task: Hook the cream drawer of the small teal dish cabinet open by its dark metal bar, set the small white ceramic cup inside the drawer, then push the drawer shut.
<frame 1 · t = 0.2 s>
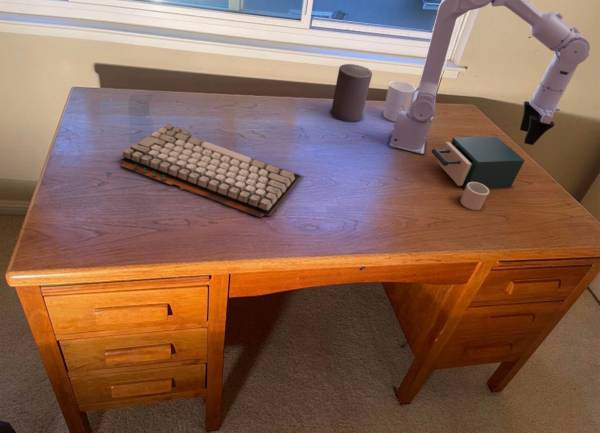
hand: (526, 136, 112), 10 cm above the table, tool pointing down, fingers open, 7 cm apart
white cup: (393, 117, 135), on the table
cabinet: (475, 175, 113), on the table
mechanical keyboard: (210, 171, 99), on the table
pillar candle: (346, 114, 132), on the table
cup: (470, 203, 103), on the table
drawer: (464, 162, 109), point 4 cm above the table, slide at 1.0 cm
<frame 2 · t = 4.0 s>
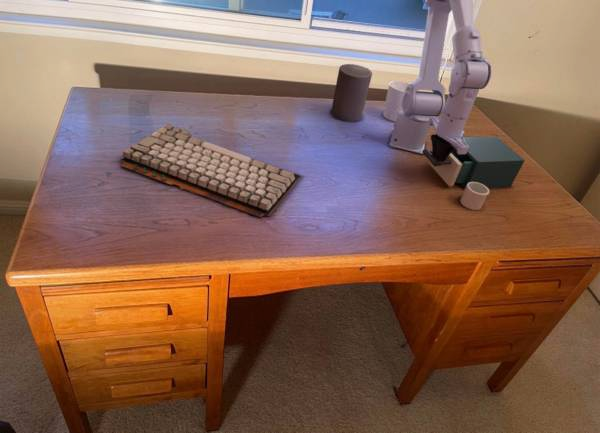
hand: (436, 164, 107), 4 cm above the table, tool pointing down, fingers closed, pressing on drawer
drawer: (455, 163, 109), point 4 cm above the table, slide at 3.6 cm, touching gripper
everything else where it was.
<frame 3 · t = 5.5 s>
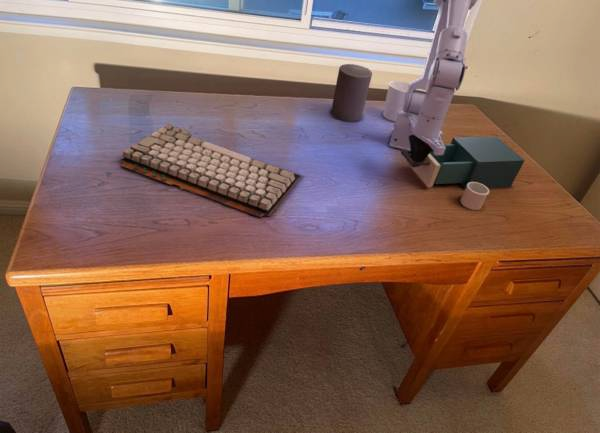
hand: (414, 165, 105), 4 cm above the table, tool pointing down, fingers closed, pressing on drawer
drawer: (435, 164, 107), point 4 cm above the table, slide at 9.6 cm, touching gripper
everything else where it was.
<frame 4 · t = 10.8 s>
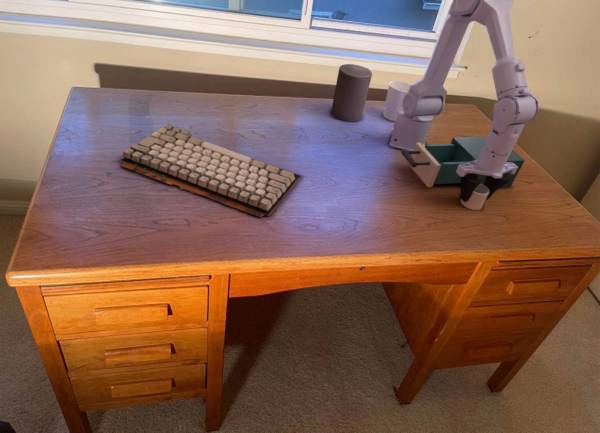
hand: (473, 198, 102), 1 cm above the table, tool pointing down, fingers closed on cup, 5 cm apart
cup: (471, 203, 103), on the table, touching gripper
drawer: (435, 164, 107), point 4 cm above the table, slide at 9.5 cm
everything else where it was.
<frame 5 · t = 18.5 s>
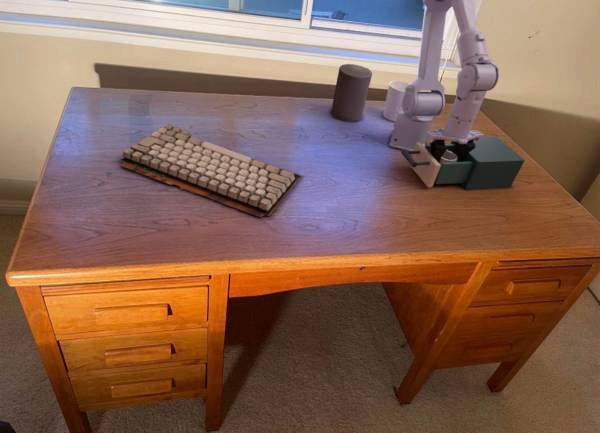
hand: (442, 165, 108), 3 cm above the table, tool pointing down, fingers closed on cup, 5 cm apart
cup: (441, 170, 109), point 2 cm above the table, touching gripper
everything else where it was.
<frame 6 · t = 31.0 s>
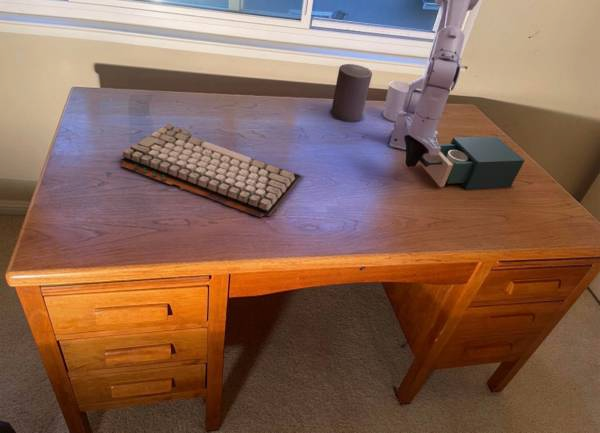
hand: (410, 165, 105), 4 cm above the table, tool pointing down, fingers closed, pressing on drawer
cup: (452, 170, 110), point 2 cm above the table, touching drawer
drawer: (446, 163, 108), point 4 cm above the table, slide at 6.2 cm, touching cup, gripper
everything else where it was.
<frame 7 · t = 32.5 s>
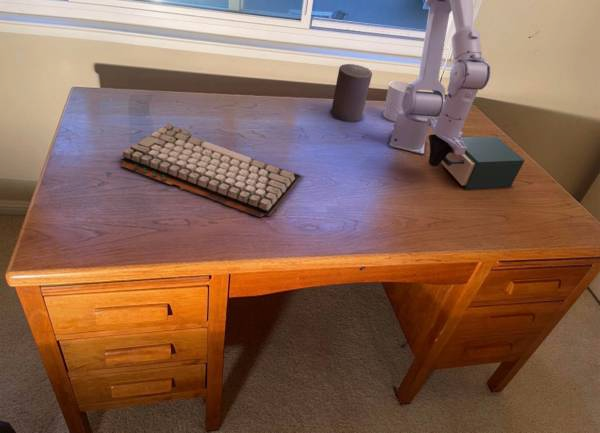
hand: (433, 164, 107), 4 cm above the table, tool pointing down, fingers closed, pressing on drawer
cup: (472, 169, 112), point 2 cm above the table, touching drawer
drawer: (468, 162, 110), point 4 cm above the table, slide at 0.0 cm, touching cabinet, cup, gripper
everything else where it was.
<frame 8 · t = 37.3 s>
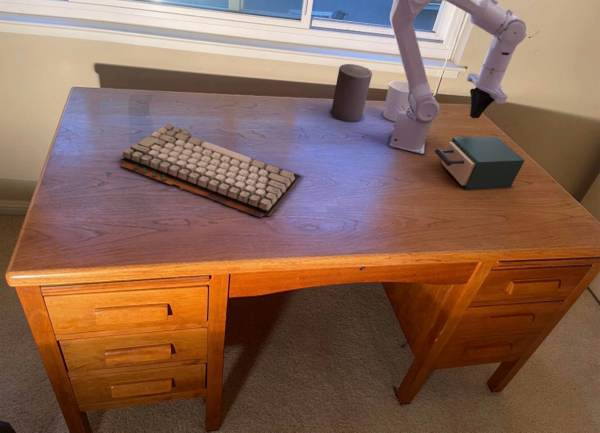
hand: (474, 117, 117), 10 cm above the table, tool pointing down, fingers closed
drawer: (468, 162, 110), point 4 cm above the table, slide at 0.0 cm, touching cup
everything else where it was.
at the end: drawer pulled out 9.6 cm at the most during the clip, back to where it started at the end; cup inside the target area in the cabinet (1.9 cm from its centre), point 2.0 cm above the cabinet's base; drawer slide at 0.0 cm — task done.
